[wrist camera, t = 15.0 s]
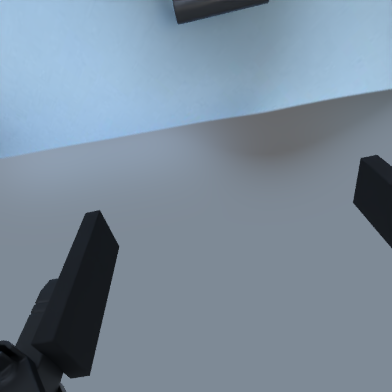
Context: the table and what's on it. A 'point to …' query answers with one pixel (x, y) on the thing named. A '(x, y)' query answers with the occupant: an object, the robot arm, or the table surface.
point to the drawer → (209, 8)
